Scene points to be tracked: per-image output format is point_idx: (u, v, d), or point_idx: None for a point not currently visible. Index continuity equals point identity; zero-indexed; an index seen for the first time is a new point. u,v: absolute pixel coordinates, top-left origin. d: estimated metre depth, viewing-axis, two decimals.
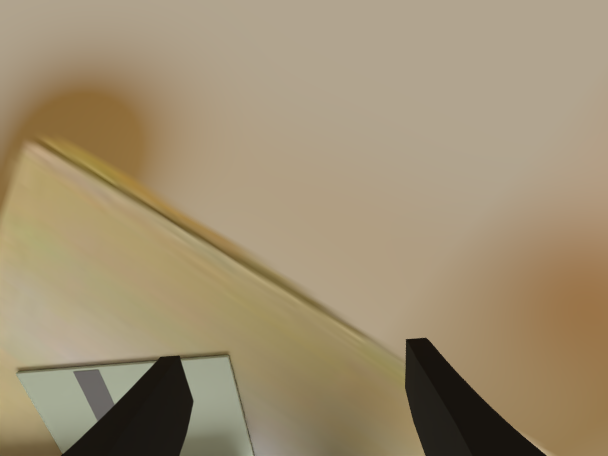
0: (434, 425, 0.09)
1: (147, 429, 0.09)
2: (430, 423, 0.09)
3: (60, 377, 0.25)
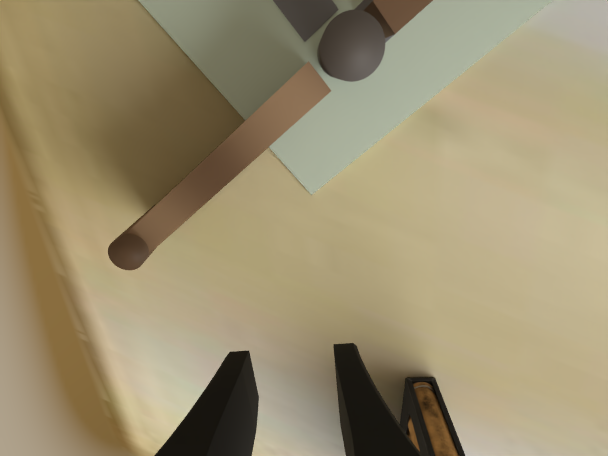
0: (346, 430, 0.09)
1: (232, 424, 0.09)
2: (345, 428, 0.09)
3: None
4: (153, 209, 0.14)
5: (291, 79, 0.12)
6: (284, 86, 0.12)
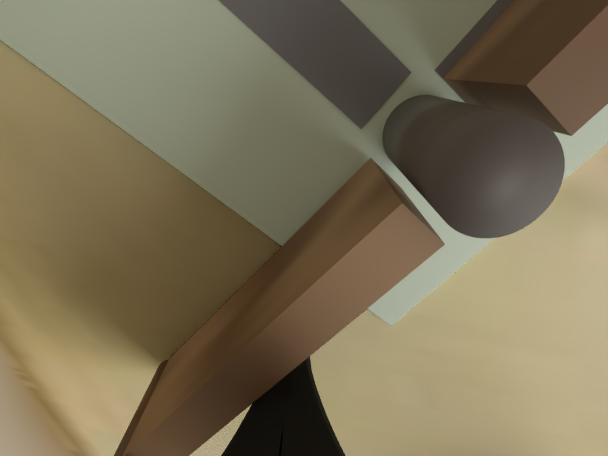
0: None
1: None
2: None
3: None
4: (157, 428, 0.09)
5: (370, 233, 0.07)
6: (358, 246, 0.07)
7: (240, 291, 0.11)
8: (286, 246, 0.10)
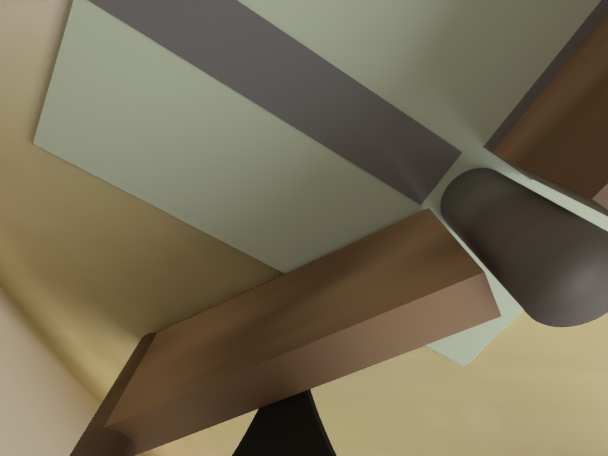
0: None
1: None
2: None
3: (88, 53, 0.09)
4: (158, 407, 0.09)
5: (445, 288, 0.07)
6: (430, 296, 0.07)
7: (261, 289, 0.11)
8: (323, 261, 0.11)
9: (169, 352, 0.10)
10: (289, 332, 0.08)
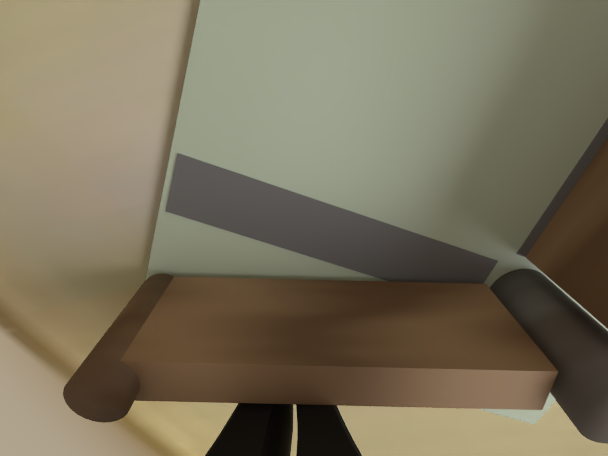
0: None
1: (277, 421, 0.09)
2: None
3: (173, 247, 0.11)
4: (196, 364, 0.08)
5: (520, 371, 0.08)
6: (506, 372, 0.08)
7: (307, 284, 0.11)
8: (379, 286, 0.11)
9: (198, 306, 0.10)
10: (355, 346, 0.08)
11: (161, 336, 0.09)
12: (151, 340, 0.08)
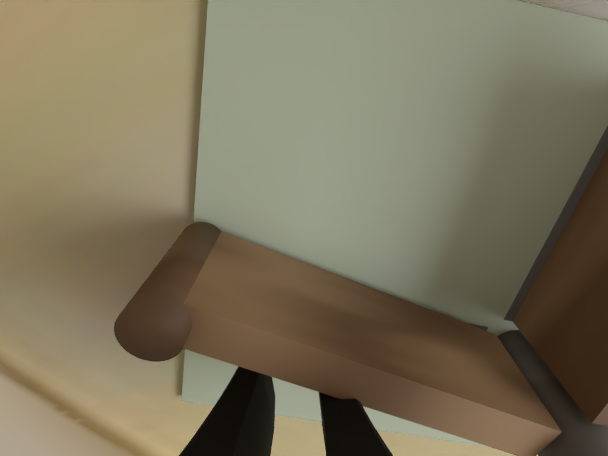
0: (324, 431, 0.09)
1: (254, 422, 0.09)
2: None
3: None
4: (258, 330, 0.08)
5: (533, 422, 0.09)
6: (522, 420, 0.09)
7: (348, 283, 0.11)
8: (409, 306, 0.11)
9: (251, 271, 0.09)
10: (399, 358, 0.09)
11: (220, 290, 0.08)
12: (211, 291, 0.08)
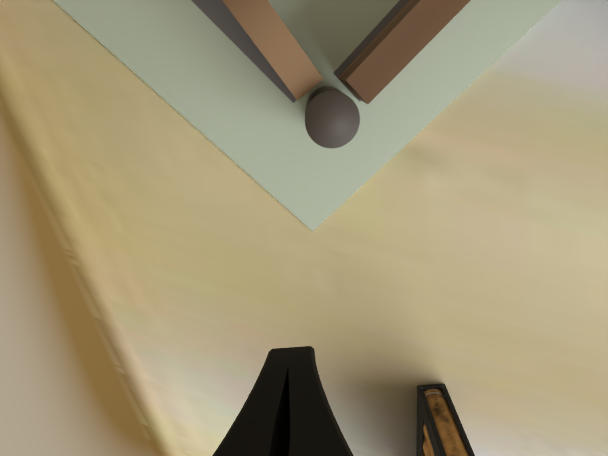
0: None
1: (283, 421, 0.09)
2: None
3: None
4: None
5: (308, 60, 0.13)
6: (302, 52, 0.13)
7: None
8: None
9: None
10: None
11: None
12: None
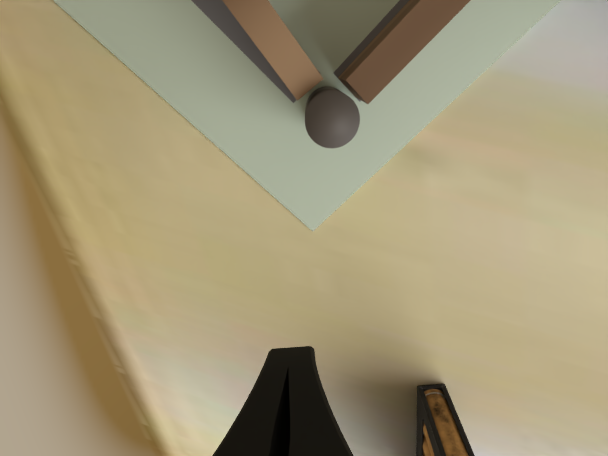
0: None
1: (283, 421, 0.09)
2: None
3: None
4: None
5: (308, 60, 0.13)
6: (302, 52, 0.13)
7: None
8: None
9: None
10: None
11: None
12: None
